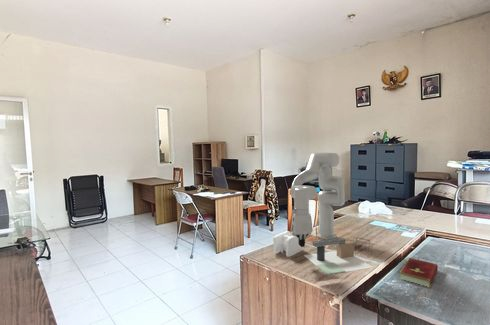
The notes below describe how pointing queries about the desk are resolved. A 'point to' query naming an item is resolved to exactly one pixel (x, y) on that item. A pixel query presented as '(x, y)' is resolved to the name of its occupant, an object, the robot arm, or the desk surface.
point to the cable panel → (339, 260)
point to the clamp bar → (328, 242)
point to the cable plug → (321, 253)
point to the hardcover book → (419, 271)
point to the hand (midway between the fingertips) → (301, 246)
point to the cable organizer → (286, 243)
